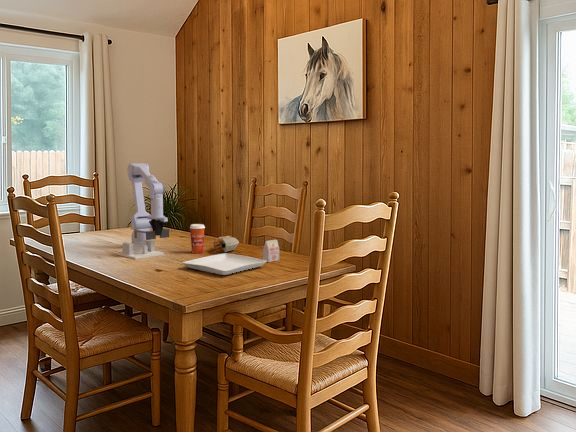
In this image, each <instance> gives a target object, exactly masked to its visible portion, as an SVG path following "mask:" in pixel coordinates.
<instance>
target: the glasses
mask: <svg viewBox="0 0 576 432" xmlns="http://www.w3.org/2000/svg"><path fill="white" fill-rule="evenodd" d="M133 231H134V238H137V232H140V233H146V240H156V239H157V233H156V230H154V231H153V230H150V231H139V230H133ZM166 238H170V228H164V227H163V230H162V234H161V235H159V239H166Z"/></svg>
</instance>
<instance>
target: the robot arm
mask: <svg viewBox="0 0 576 432" xmlns="http://www.w3.org/2000/svg"><path fill="white" fill-rule="evenodd" d="M126 170H127V176H128V180H129V181H131V185H132V191H133V193H132V194H133V200H134V207H135V213H133V215H132V216H131V217H130V219H131V221H130V223H131V224H130V226H131V229H132V233H131V243H137V242H144V240H146V233H140V232H137V238H134V230H139V231H154V230H156V233H157V236H159V237H160V235H161V234H162V230H163V228H164V226H165V225H166V223H168V222H169V220H168V219H169V217H166V216H165V215H164V198H163V197H164V194H165V191H166V190H165V189H166V188H165V184H164V182H160V181H158V179H157V178H156V176H155V175H154V174H151V173H150V166H149V164H148V163H147V162H144V163H140V162H139V163H138V162H137V163H135V162H133V163H132V162H130V163H128V165H127V168H126ZM143 182H144V184H145V185H146V187H147V188H148V193H149V198H150V213H151V214H150V213H149V212H147V211H146V205H145V198H144V192H143V191H144V190H143ZM157 236H156V237H157Z"/></svg>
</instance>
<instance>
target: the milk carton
mask: <svg viewBox="0 0 576 432" xmlns="http://www.w3.org/2000/svg"><path fill="white" fill-rule="evenodd" d="M262 260H266V261H267V262H270V263H273V262H272V261H276V262H279V261H280V245H279V242H278V239H272V240H271V239H270V240H265V242H264V246H263V248H262ZM278 260H279V261H278ZM267 262H266V263H267Z"/></svg>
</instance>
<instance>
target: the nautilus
mask: <svg viewBox="0 0 576 432" xmlns="http://www.w3.org/2000/svg"><path fill="white" fill-rule="evenodd" d="M209 244H210V246H208V247H212V246H213V248H212V249H211V248H210V249H208V250H206V251H211V250H214V251H211V252H209V254H212V255H218V254H222V253H228V252H230V251H233V250H235V249H236V248H237V246H238V245H239V244H240V241H239V240H238V239H237V238H236V237H233V236H230V235H226V236H224V235H223V236H219V237H218V238H216V239H215V240H213V241H212V242H209Z"/></svg>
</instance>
